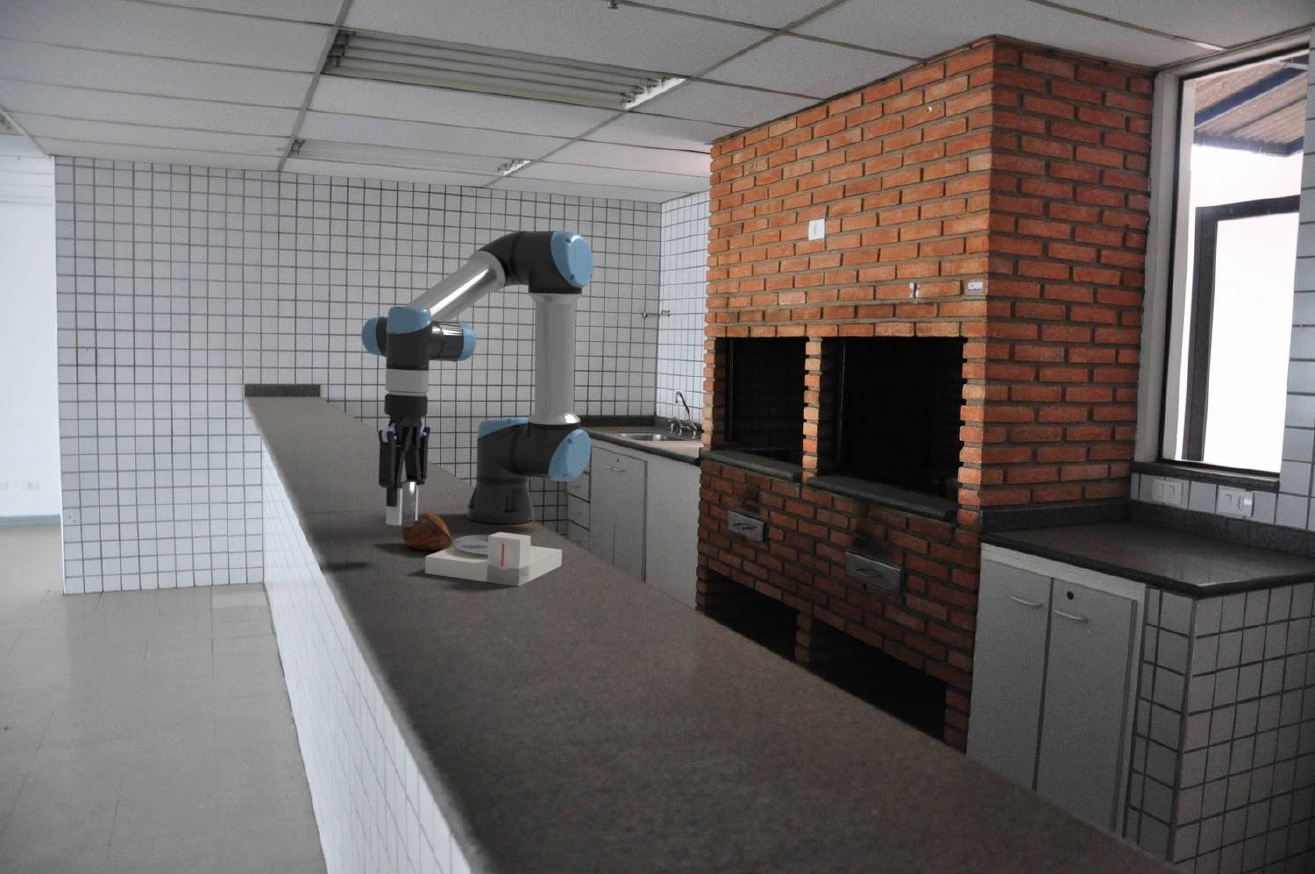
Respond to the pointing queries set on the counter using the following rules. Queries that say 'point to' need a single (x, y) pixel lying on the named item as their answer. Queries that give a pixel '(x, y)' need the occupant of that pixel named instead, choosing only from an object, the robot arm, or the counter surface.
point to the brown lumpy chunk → (427, 533)
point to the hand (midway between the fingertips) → (401, 521)
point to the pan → (473, 544)
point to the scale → (497, 561)
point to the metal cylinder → (408, 503)
